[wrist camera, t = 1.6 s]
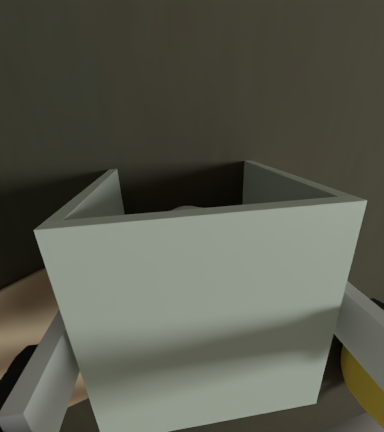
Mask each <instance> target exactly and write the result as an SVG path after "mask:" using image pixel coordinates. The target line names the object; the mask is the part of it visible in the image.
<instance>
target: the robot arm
mask: <svg viewBox="0 0 384 432" xmlns="http://www.w3.org/2000/svg"><path fill="white" fill-rule="evenodd" d="M334 334H335V335H336V336H337V338H338V339H339V340H340V341H341V342H342V344H343V345H344V346H345V347H346V348H347V349H348V351H349V352H350V353H351V354H352V355H353V356H354V358H355V359H356V360H357V361H358V362H359V363H360V365H361V366H362V367H363V368H364V369H365V370H366V372H367V373H368V374H369V375H370V376H371V377H372V379H373V380H374V381H375V382H376V383H377V384H378V386H379V387H380V388H381V389H382V390H383V391H384V303H382V302H380V301H378V300H376V299H374V298H372V299H369V298H368V297H366V296H365V295H364V294H363V293H361V292H360V291H359V290H358V289H356V288H355V287H354V286H353V285H351V284H350V283H349V282H348V281H347V283H346V287H345V291H344V295H343V299H342V303H341V307H340V311H339V314H338V318H337V322H336V326H335V330H334ZM79 372H80V369H79V366H78V363H77V360H76V357H75V354H74V351H73V348H72V345H71V342H70V339H69V336H68V333H67V330H66V327H65V324H64V321H63V318H62V315H61V312H60V309H59V310H58V312H57V314H56V316H55V317H54V319H53V321H52V322H51V324H50V326H49V328H48V329H47V331H46V333H45V334H44V336H43V338H42V340H41V341H40V343H39V344H36V345H28V346H26V347H25V348H24V349H23V350H22V351H21V352H20V353H19V354H18V355H17V356H16V357H15V358H14V360H13V361H12V363H11V364H10V366H9V367H8V369H7V372H6V373H5V374H4V375H3V377H2V378H1V380H0V432H59V430H60V427H61V424H62V421H63V418H64V415H65V412H66V409H67V407H68V404H69V401H70V398H71V395H72V392H73V389H74V386H75V383H76V380H77V378H78V375H79Z"/></svg>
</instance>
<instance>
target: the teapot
mask: <svg viewBox="0 0 384 432" xmlns="http://www.w3.org/2000/svg"><path fill="white" fill-rule="evenodd" d="M341 368H342V372H343V377H344V380H345V383H346V385H347V387H348V389H349V391H350V392H351V393H352V395H353V396H354V397H355V399H356V400H357V401H358V402H359V403H360V405H361V406H362V407H363V408H364V409H365V410H366V411H367V412H368V413H369V415H370V416H371V417H372V418H373V419H375V420H376V421H377V422H378V423H379V424H380V425H381V426H382V427H383V428H384V391H383V390H382V389H381V388H380V387H379V386H378V384H377V383H376V382H375V381H374V380H373V379H372V377H371V376H370V375H369V374H368V373H367V372H366V370H365V369H364V368H363V367H362V366H361V365H360V363H359V362H358V361H357V360H356V359H355V358H354V356H353V355H352V354H351V353H350V352H349V351H348V349H347V348H346V347H345V346H344V345H343V347H342V352H341Z"/></svg>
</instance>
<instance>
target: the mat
mask: <svg viewBox="0 0 384 432" xmlns="http://www.w3.org/2000/svg"><path fill="white" fill-rule="evenodd" d="M58 310H59V306H58V303H57V300H56V297H55V294H54V291H53V288H52V285H51V282H50V279H49V276H48V273H47V270H46V267H45V268H43V269H41V270H39V271H37V272H35V273H33V274H31V275H29V276H27V277H25V278H23V279H21V280H19V281H17V282H15V283H13V284H11V285H9V286H7V287H5V288H3V289H1V290H0V380H1V378H2V377H3V375H4V374H5V373H6V372H7V369H8V367H9V366H10V364H11V363H12V361H13V360H14V358H15V357H16V356H17V355H18V354H19V353H20V352H21V351H22V350H23V349H24V348H25V347H26V346H28V345H36V344H39V343H40V341H41V340H42V338H43V336H44V334H45V333H46V331H47V329H48V328H49V326H50V324H51V322H52V321H53V319H54V317H55V316H56V314H57V312H58ZM87 398H89V397H88V394H87V391H86V388H85V385H84V382H83V379H82V376H81V372H79V375H78V378H77V380H76V383H75V386H74V389H73V392H72V395H71V398H70V401H69V404H68V407H70V406H72V405H74V404H76V403H78V402H80V401H82V400H85V399H87ZM68 407H67V408H68Z"/></svg>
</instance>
